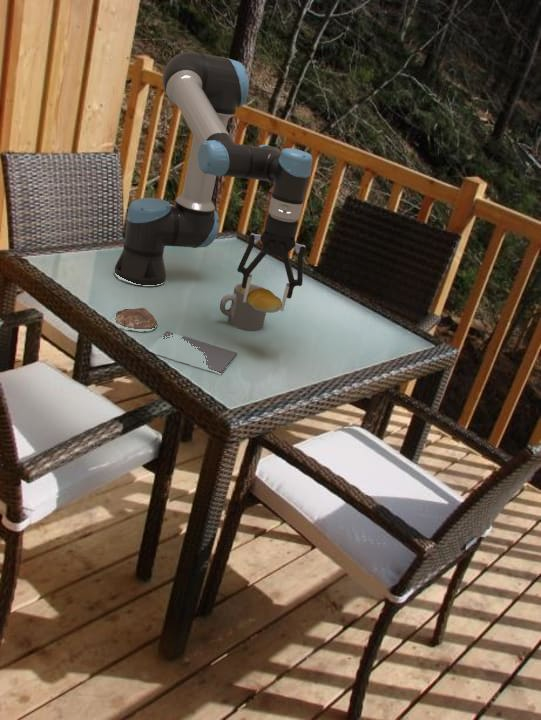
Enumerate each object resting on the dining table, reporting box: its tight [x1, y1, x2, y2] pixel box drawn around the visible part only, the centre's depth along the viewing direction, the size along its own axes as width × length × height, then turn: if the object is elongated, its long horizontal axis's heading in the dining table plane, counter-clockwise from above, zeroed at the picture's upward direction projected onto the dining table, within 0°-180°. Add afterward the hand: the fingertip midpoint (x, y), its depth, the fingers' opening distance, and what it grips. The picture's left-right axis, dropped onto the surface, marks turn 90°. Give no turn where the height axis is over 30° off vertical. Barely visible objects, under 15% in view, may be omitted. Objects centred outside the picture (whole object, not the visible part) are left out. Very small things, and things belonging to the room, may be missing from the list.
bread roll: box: [247, 287, 282, 314], centre depth 177 cm, size 8×9×4 cm
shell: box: [115, 307, 158, 329], centre depth 184 cm, size 12×13×4 cm
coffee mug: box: [219, 282, 267, 332], centre depth 198 cm, size 13×10×10 cm
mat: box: [160, 330, 238, 373], centre depth 175 cm, size 19×13×1 cm
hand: (263, 304), depth 178 cm, fingers closed on bread roll, 9 cm apart
